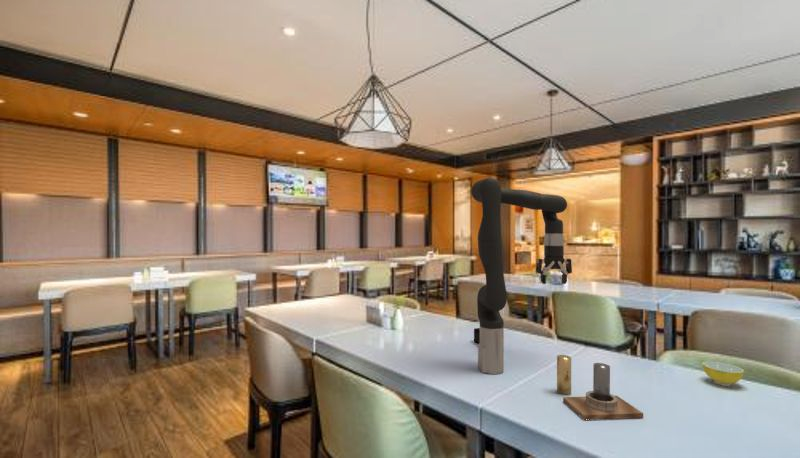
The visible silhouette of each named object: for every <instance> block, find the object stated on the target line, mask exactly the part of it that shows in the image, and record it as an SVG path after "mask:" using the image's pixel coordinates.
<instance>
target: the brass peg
mask: <svg viewBox="0 0 800 458" xmlns="http://www.w3.org/2000/svg"><path fill="white" fill-rule="evenodd" d="M556 393H558V394H560V395H562V396H570V395H572V357H571V356H569V355H565V354H557V355H556Z"/></svg>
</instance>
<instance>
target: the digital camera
mask: <svg viewBox="0 0 800 458" xmlns="http://www.w3.org/2000/svg"><path fill="white" fill-rule="evenodd" d="M473 343H474V344H476V345H478V344H480V327H477V328H474V329H473Z"/></svg>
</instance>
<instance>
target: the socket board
mask: <svg viewBox="0 0 800 458" xmlns="http://www.w3.org/2000/svg"><path fill="white" fill-rule="evenodd" d="M562 400H563V401H562V402H563V403H564V404H565V405H566V404H567V405H568V406H569V407H568V406H567V405H566V406H567V407H568V408H569V409H571V410H572V411H573V410H574V411H575V412H576V413H577V414H576V413H575V412H574V411H573V412H574V413H575V414H576V415H577V416H579V415H580V416H581V417H582V418H583V419H584V420H585V421H591V420H590V419H593V420H592V421H595V420H594V419H605V420H606V419H610V420H632V419H638V420H639V419H644V412H642V411H641V410H639V409H638V408H636V407H635V406H633V405H631V404H630V403H629V402H627V401H625V400H624V399H622V398H621V397H620V396H618V395H613V394H611V393H610V401H600V400H596V399H594V398H593V390H589V391H587V392H585V396H566V397H565V396H563V398H562ZM580 416H579V417H580ZM581 417H580V418H581ZM582 418H581V419H582ZM583 419H582V420H583ZM586 419H587V420H586ZM588 419H589V420H588ZM584 420H583V421H584ZM605 420H604V421H605Z"/></svg>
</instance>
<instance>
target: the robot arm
mask: <svg viewBox="0 0 800 458" xmlns="http://www.w3.org/2000/svg"><path fill="white" fill-rule="evenodd" d="M470 192H471V193H470V194H471V197H472V198H473V199H474V200H475V201H476V202H478V203H481V206H482V218H481V221H480V226H479V229H478V233H477V247H478V248H477V250H478V256H479V259H480V262H481V265H482V267H483V270H484V274H485V275H484V276H485V284H484V285H482V286H481V287H480V288H479V290H478V292H477V297H476V298H477V299H476V302H477V303H476V306H477V318H478V322H479V328H480V344H477V368H478V370H480V372H481V373H483V374H490V375H499V374H502V373H504V370H505V369H504V366H505V365H504V364H505V363H504V361H505V360H504V353H505V351H504V350H505V349H504V348H505V347H504V346H505V345H504V344H505V343H504V337H505V334H504V331H505V330H504V327H505V326H504V325H505V324H504V319H503V318H502V315H501V312H500V311H502V310H503V309H504V308H505V307H506V305H507V302H508V295H507V289H506V288H507V287H506V282H505V276H504V275H505V274H504V258H503V257H504V256H503V255H504V254H503V237H502V236H503V235H502V219H501V206H502V205H501V204H505V205H511V206H515V207H519V208H525V209H529V210H535V211H539V210H541V214H542V219H543V222H544V239H543V240H544V241H543V248H544V249H543V253H544V254H543V256H544V258H536V264H535V265H536V266H535V273H537V274H540V282H541V284H542V285H546V284H547V279H546V278H547V275H546V274H547V273H548V271H550V270H559V272H560V273H561V284H563V285H566V284H567V282H568V275H569V274H572V273H573V269H572V267H573V265H572V264H573V263H572V259H571V258H564V255H565V250H564V249H565V240H564V223H563V220H561V219H560V218H558V214H561V213H563V212H565V211H566V209H567V207H568V202H567V200H566V198H564V197H563V196H561V195H557V194H548V193H547V194H546V193H539V192H538V191H537V192H536V191H532V190H526V189H513V188H504V187H501V184H500V182H499V181H498V180H497V179H496V178H495V177H487V178H482V179H480V180H477V181H476V182H475V183H473V185H472V186H471V191H470ZM543 264H544V266H543ZM564 264H565V266H564ZM542 266H543V267H542Z"/></svg>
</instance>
